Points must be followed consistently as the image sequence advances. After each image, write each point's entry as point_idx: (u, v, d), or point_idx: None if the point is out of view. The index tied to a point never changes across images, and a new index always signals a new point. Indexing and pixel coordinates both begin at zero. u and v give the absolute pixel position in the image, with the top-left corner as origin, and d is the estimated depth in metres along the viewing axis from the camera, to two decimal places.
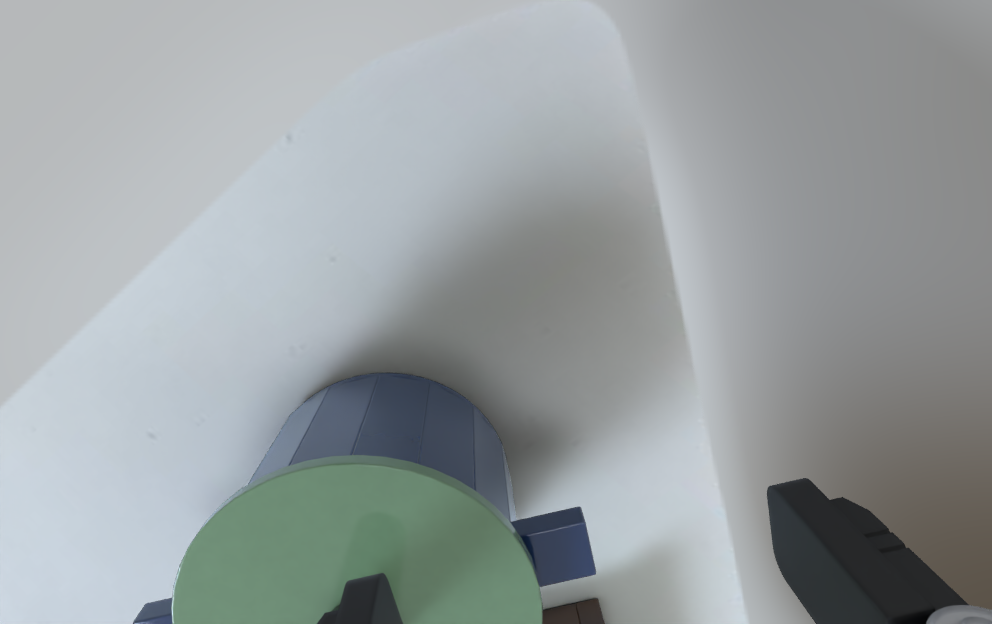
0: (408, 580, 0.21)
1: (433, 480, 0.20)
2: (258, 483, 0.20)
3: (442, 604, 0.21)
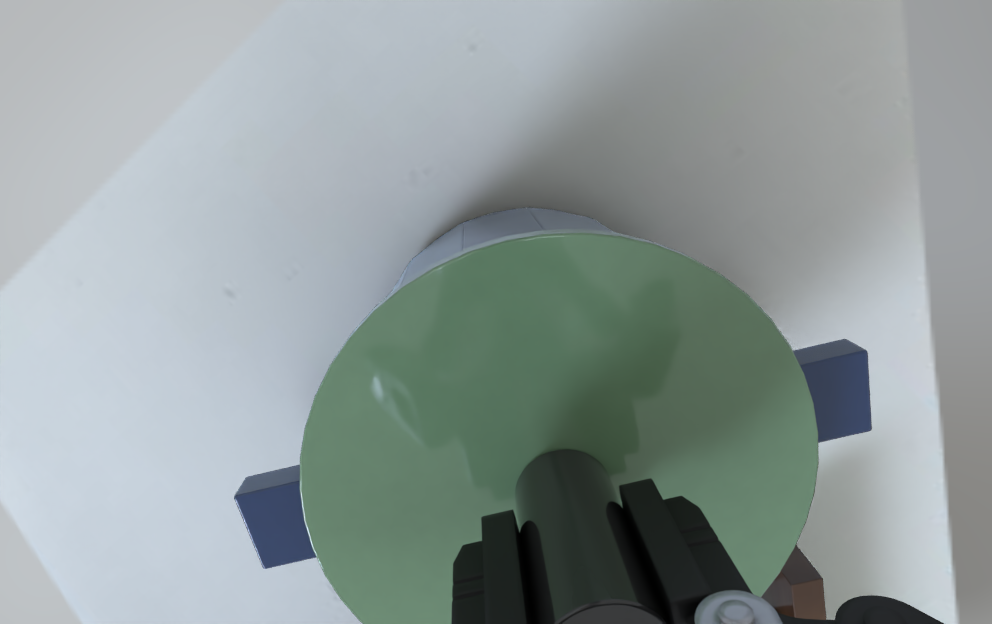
0: (638, 421, 0.15)
1: (692, 262, 0.14)
2: (437, 265, 0.13)
3: (681, 459, 0.15)
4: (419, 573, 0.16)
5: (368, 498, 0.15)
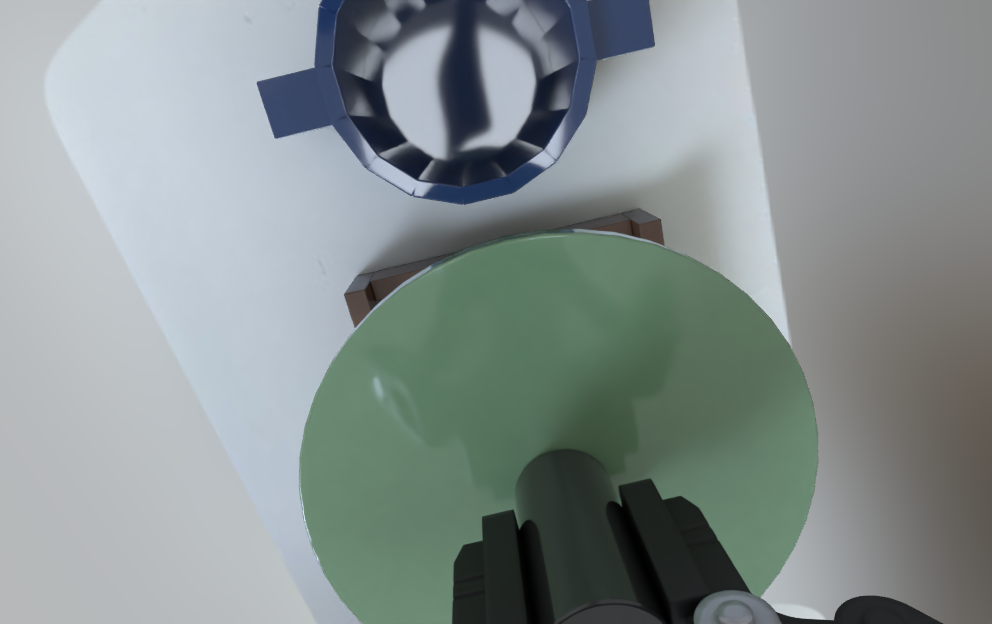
0: (637, 421, 0.15)
1: (692, 262, 0.14)
2: (437, 265, 0.13)
3: (680, 458, 0.15)
4: (419, 573, 0.16)
5: (367, 498, 0.15)
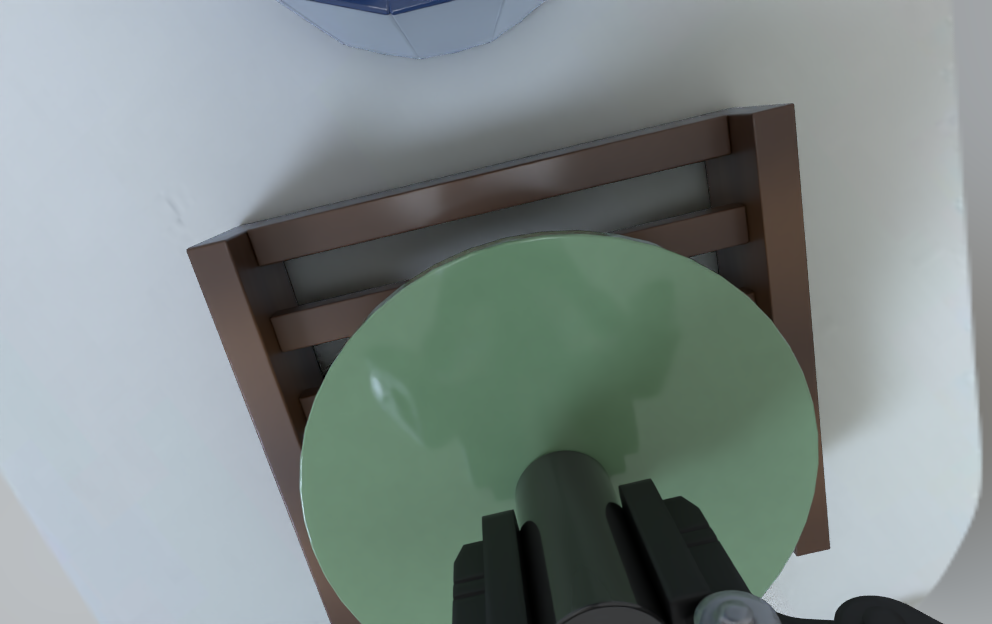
0: (638, 422, 0.15)
1: (692, 263, 0.14)
2: (437, 266, 0.13)
3: (681, 460, 0.15)
4: (419, 574, 0.16)
5: (368, 499, 0.15)
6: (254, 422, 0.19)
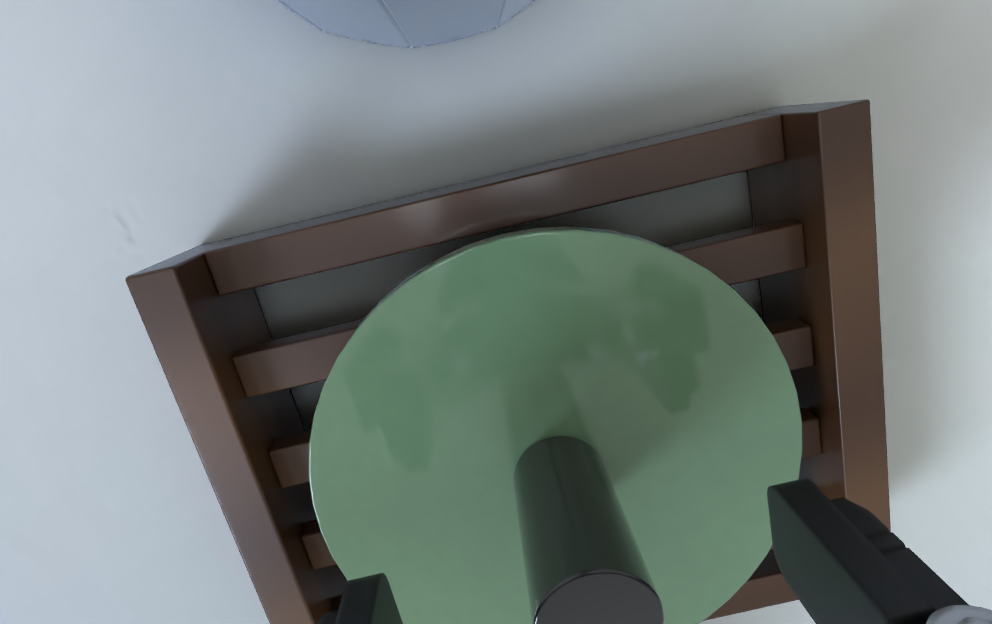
0: (630, 409, 0.15)
1: (680, 257, 0.14)
2: (439, 260, 0.14)
3: (671, 445, 0.16)
4: (423, 555, 0.16)
5: (373, 482, 0.16)
6: (212, 483, 0.16)
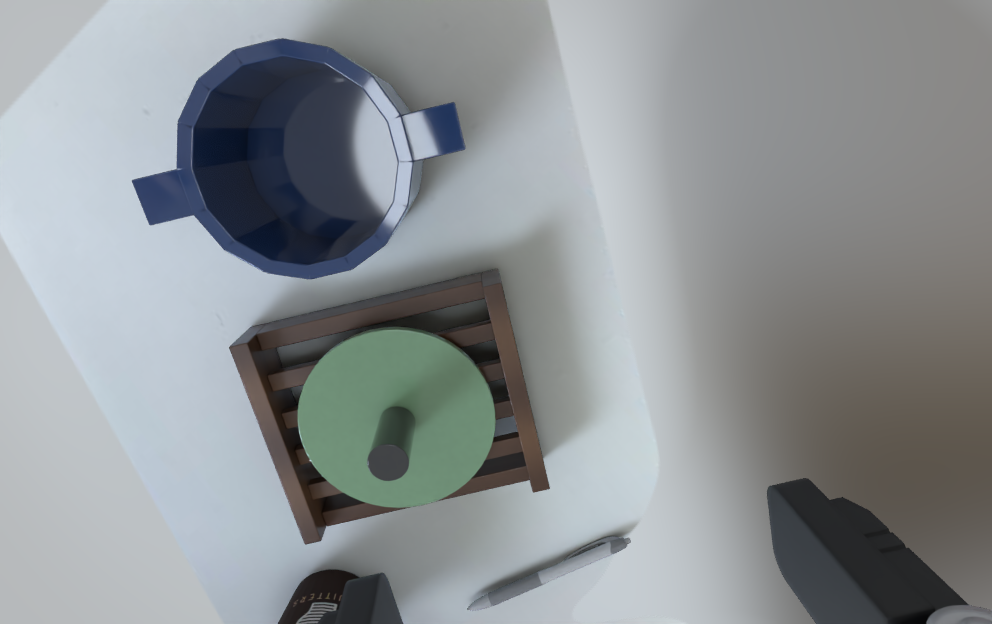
0: (423, 396, 0.39)
1: (436, 339, 0.38)
2: (346, 340, 0.38)
3: (441, 410, 0.40)
4: (344, 455, 0.40)
5: (323, 425, 0.40)
6: (259, 425, 0.40)
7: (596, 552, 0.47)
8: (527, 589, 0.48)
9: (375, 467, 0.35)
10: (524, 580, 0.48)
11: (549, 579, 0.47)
